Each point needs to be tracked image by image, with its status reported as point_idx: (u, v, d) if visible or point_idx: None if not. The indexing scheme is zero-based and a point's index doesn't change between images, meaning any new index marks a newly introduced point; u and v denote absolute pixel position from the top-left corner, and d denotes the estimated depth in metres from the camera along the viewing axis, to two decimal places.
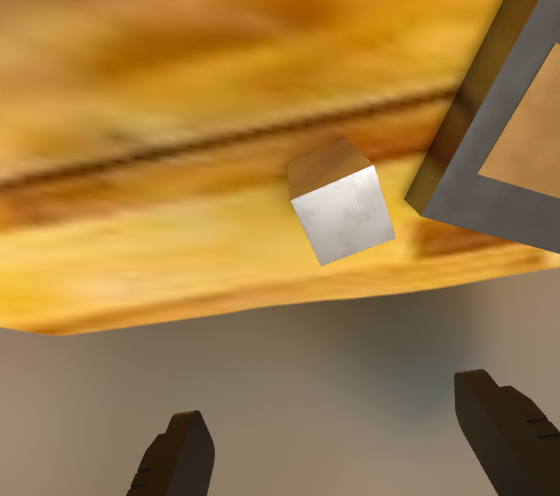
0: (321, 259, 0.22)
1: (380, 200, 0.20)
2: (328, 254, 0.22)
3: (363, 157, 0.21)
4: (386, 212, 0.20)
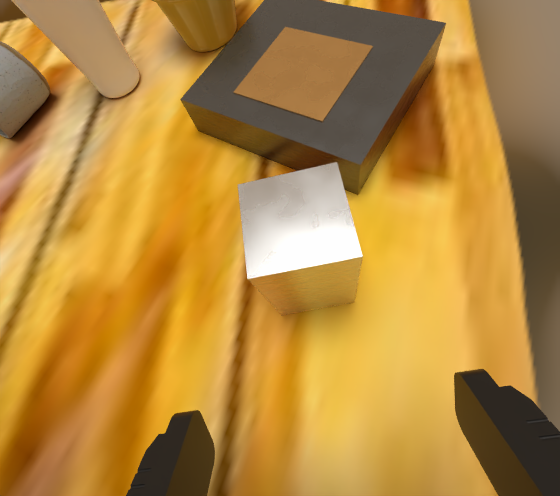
0: (350, 253, 0.15)
1: (280, 178, 0.17)
2: (343, 242, 0.15)
3: None
4: (298, 172, 0.17)
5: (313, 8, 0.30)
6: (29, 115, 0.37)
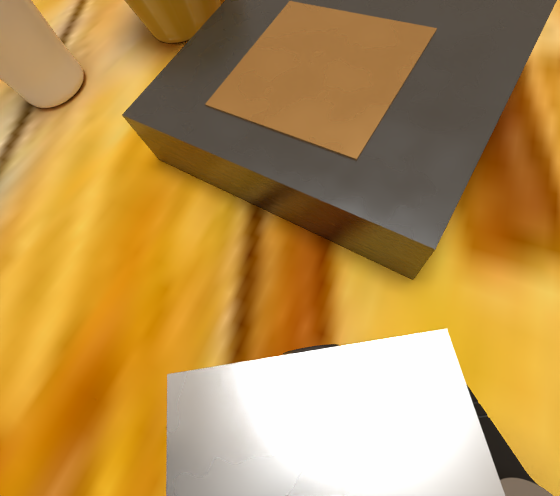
0: None
1: (284, 367, 0.06)
2: None
3: None
4: (333, 352, 0.06)
5: None
6: None
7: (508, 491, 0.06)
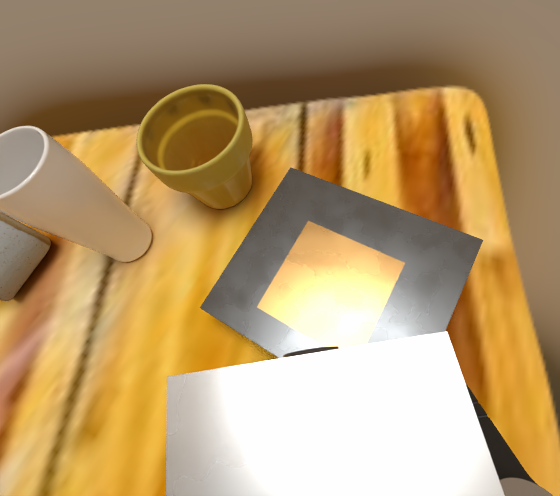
0: None
1: (284, 370, 0.06)
2: None
3: None
4: (333, 355, 0.06)
5: (337, 198, 0.29)
6: (30, 274, 0.36)
7: (508, 491, 0.06)
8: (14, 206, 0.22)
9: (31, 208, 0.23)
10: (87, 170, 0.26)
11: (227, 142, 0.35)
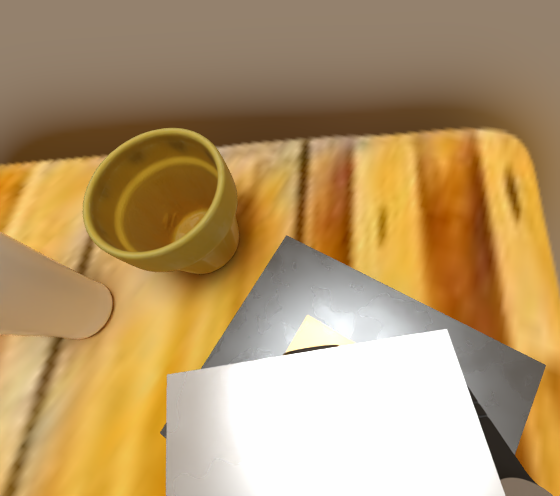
0: None
1: (284, 368, 0.06)
2: None
3: None
4: (333, 352, 0.06)
5: (346, 284, 0.22)
6: None
7: (508, 491, 0.06)
8: None
9: None
10: (8, 250, 0.19)
11: (208, 193, 0.28)
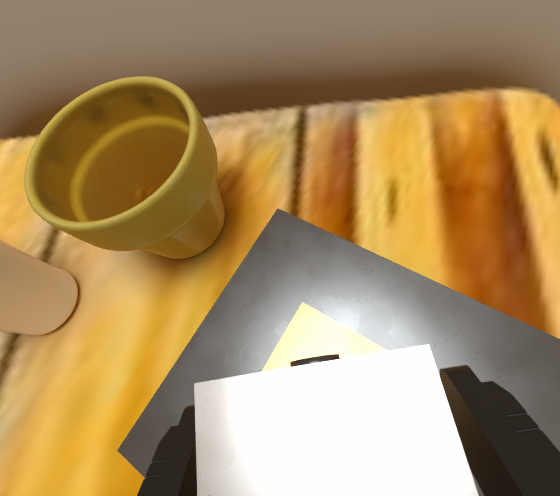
0: None
1: (293, 377, 0.07)
2: None
3: None
4: (334, 364, 0.07)
5: (350, 264, 0.18)
6: None
7: None
8: None
9: None
10: None
11: None
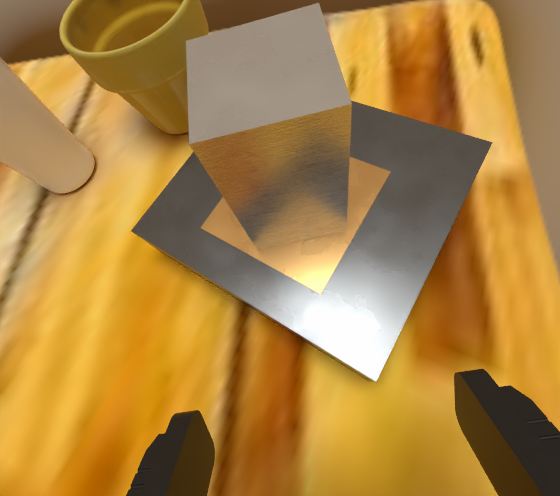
0: (334, 102, 0.10)
1: (243, 28, 0.12)
2: (324, 91, 0.10)
3: None
4: (266, 19, 0.12)
5: None
6: None
7: None
8: None
9: None
10: None
11: None
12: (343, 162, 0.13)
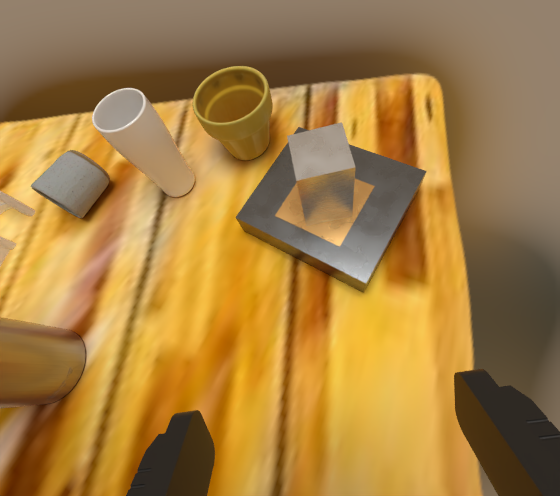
0: (349, 166, 0.28)
1: (311, 131, 0.31)
2: (345, 161, 0.29)
3: None
4: (320, 128, 0.31)
5: None
6: (95, 200, 0.49)
7: None
8: (124, 137, 0.35)
9: (132, 140, 0.35)
10: (162, 121, 0.39)
11: (252, 110, 0.47)
12: (351, 185, 0.31)
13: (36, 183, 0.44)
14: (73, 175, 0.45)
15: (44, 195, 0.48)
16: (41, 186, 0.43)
